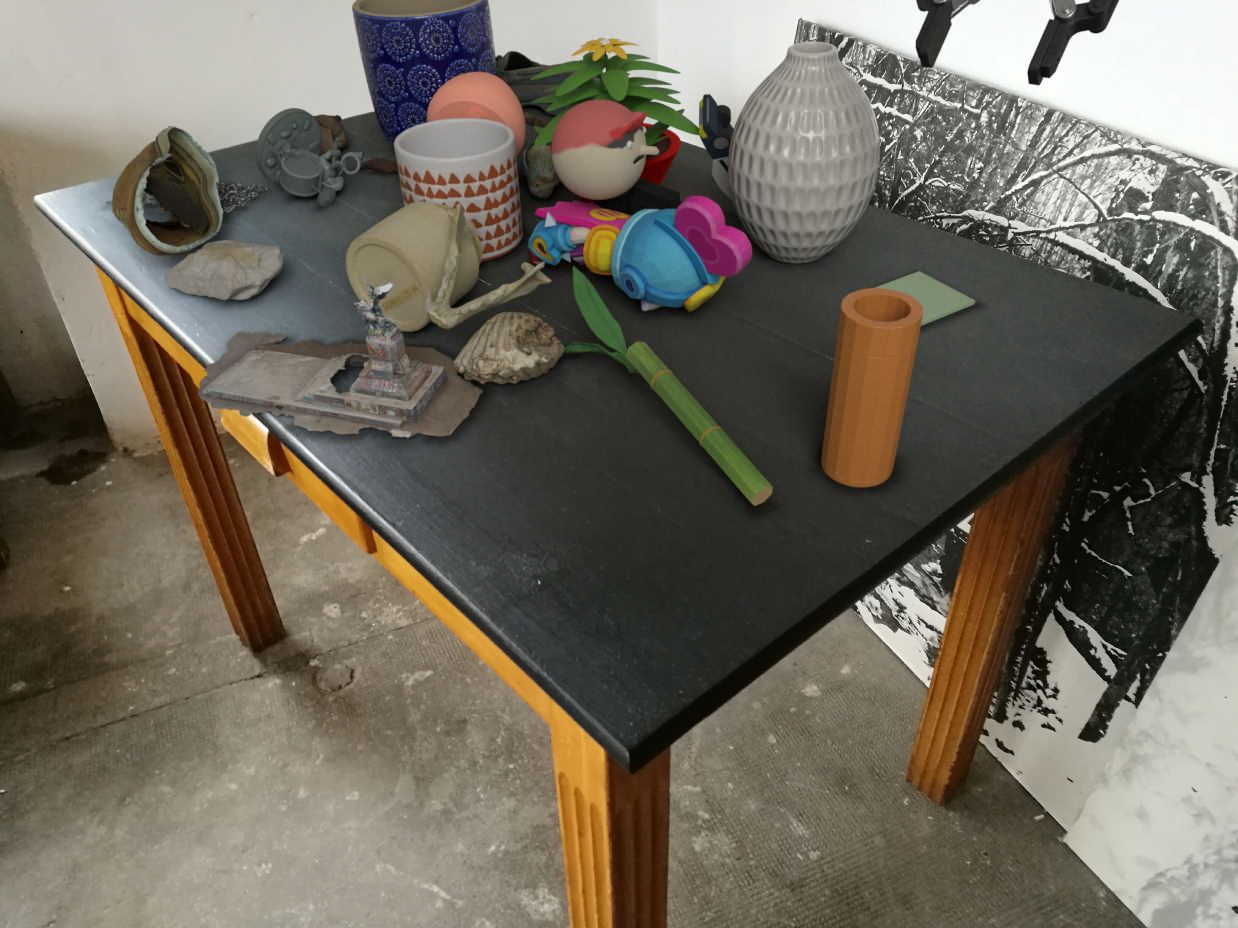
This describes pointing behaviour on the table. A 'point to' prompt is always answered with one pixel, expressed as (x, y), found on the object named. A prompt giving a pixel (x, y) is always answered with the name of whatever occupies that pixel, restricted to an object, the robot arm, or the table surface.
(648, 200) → the toy
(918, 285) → the coaster
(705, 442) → the decorative plant
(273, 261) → the stone
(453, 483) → the table surface
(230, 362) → the monument
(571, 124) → the toy
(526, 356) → the seashell
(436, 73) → the planter
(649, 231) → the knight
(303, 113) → the figurine
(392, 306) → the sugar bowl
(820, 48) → the vase
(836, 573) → the table surface
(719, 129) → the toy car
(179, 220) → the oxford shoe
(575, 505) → the table surface
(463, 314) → the jawbone
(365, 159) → the knife
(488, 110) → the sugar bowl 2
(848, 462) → the jar
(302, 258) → the table surface
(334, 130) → the figurine
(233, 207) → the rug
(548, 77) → the loafer
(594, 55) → the potted flower
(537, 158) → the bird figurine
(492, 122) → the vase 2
